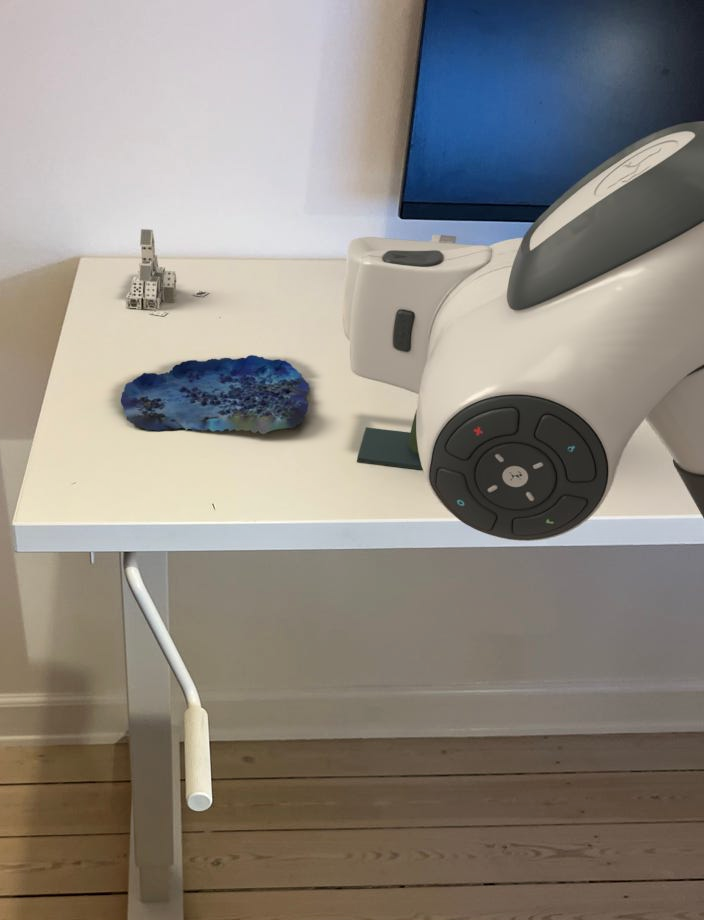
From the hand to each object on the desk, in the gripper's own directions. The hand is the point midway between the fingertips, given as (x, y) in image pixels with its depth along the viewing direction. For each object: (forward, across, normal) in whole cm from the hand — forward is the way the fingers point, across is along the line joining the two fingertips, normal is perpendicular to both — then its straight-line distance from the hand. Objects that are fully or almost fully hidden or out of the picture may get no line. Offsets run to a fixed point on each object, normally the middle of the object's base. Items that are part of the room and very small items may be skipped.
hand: (518, 253), depth 62 cm
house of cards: (+42, +36, +21) cm, 59 cm away
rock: (+17, +24, +20) cm, 35 cm away
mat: (+12, +2, +20) cm, 24 cm away
